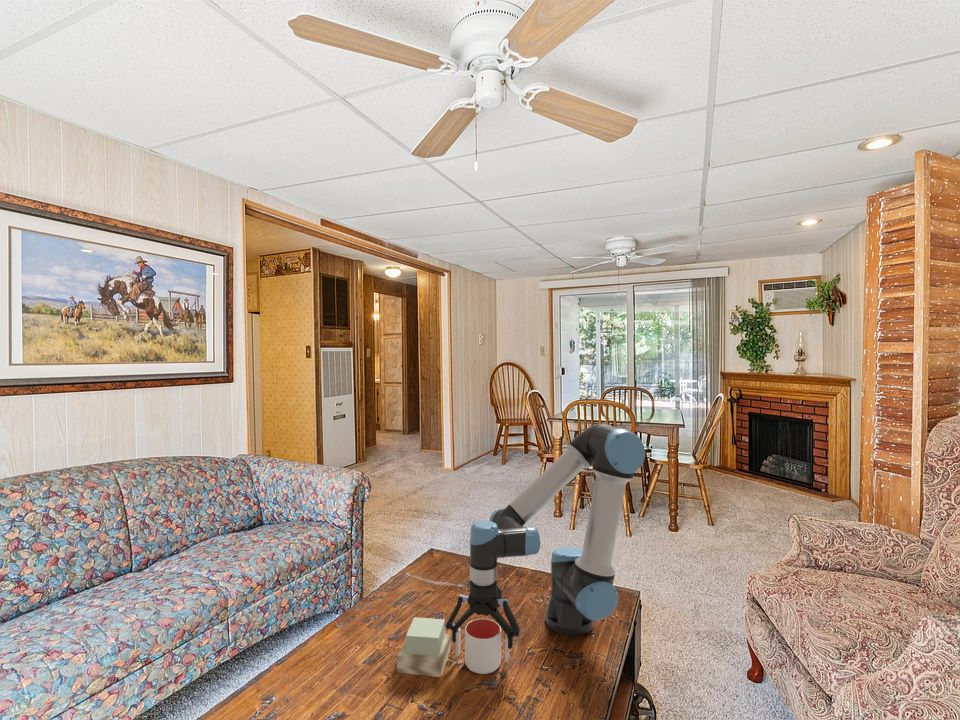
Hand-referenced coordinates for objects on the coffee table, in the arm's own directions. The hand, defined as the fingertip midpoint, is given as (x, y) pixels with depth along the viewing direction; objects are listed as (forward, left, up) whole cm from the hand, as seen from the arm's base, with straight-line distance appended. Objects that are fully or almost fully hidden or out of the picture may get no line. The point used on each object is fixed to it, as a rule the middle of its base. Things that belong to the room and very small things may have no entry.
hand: (482, 656), depth 133 cm
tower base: (+16, +1, -3) cm, 16 cm away
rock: (+3, -35, -3) cm, 35 cm away
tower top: (+16, +1, +2) cm, 16 cm away
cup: (0, 0, -3) cm, 3 cm away
